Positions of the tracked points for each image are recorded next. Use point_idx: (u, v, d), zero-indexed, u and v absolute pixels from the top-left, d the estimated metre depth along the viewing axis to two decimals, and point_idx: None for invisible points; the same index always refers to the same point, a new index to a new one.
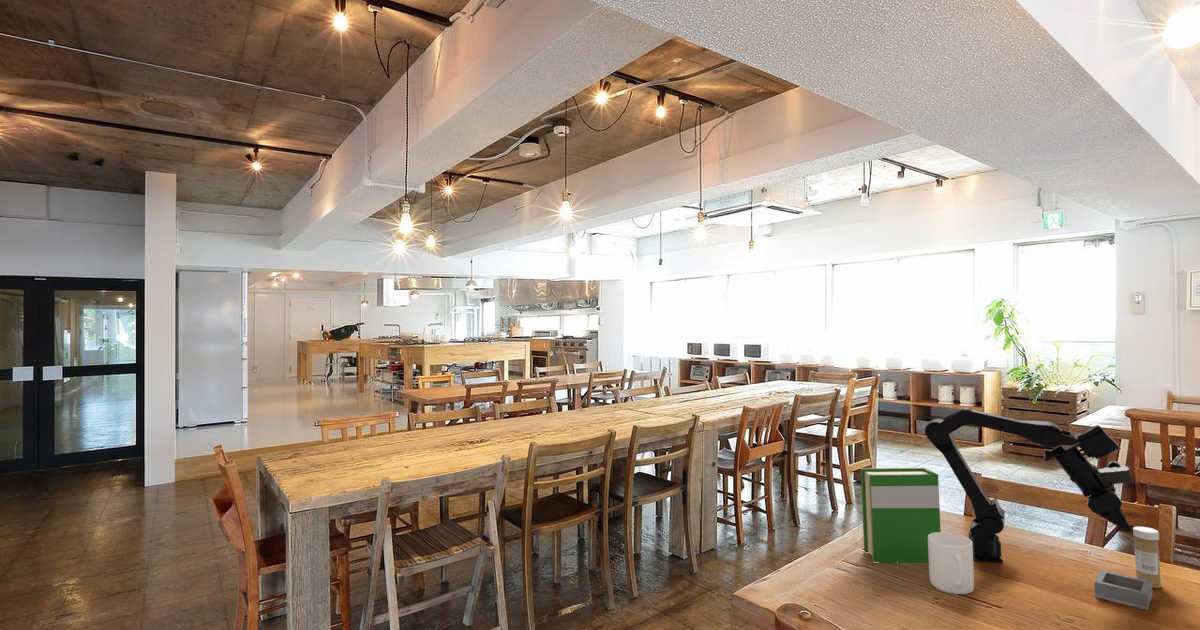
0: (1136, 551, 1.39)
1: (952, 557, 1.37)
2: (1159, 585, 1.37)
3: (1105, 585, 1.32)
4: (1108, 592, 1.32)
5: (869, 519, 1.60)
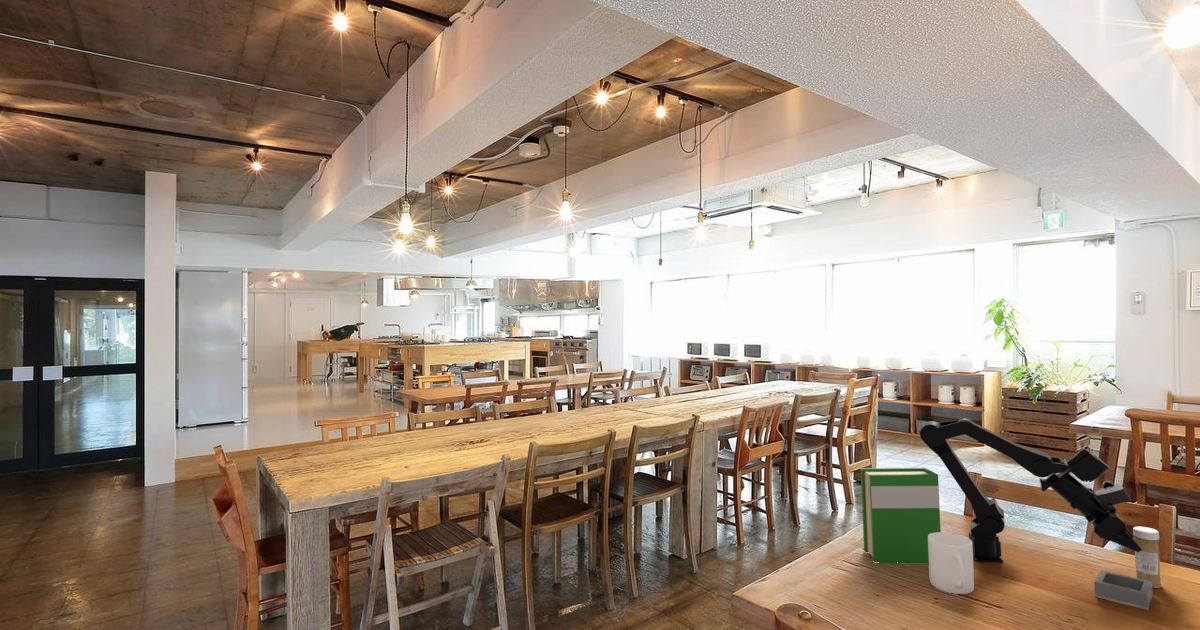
0: None
1: (952, 557, 1.37)
2: (1159, 585, 1.37)
3: (1105, 585, 1.32)
4: (1108, 592, 1.32)
5: (869, 519, 1.60)
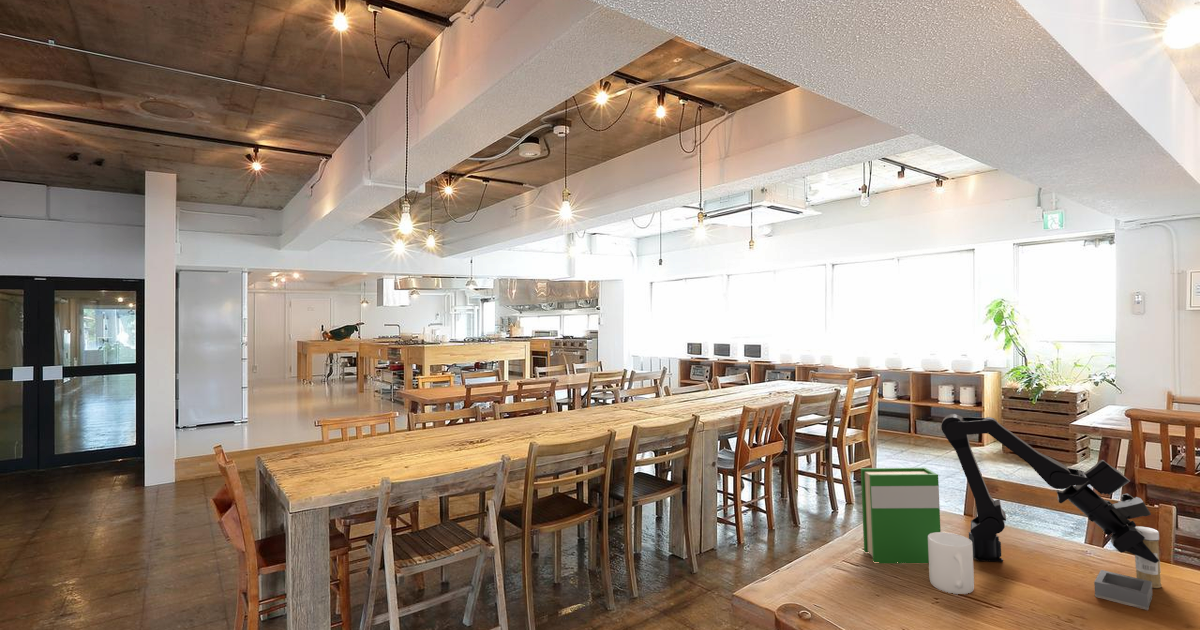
0: None
1: (952, 557, 1.37)
2: (1159, 585, 1.37)
3: (1105, 585, 1.32)
4: (1108, 592, 1.32)
5: (869, 519, 1.60)
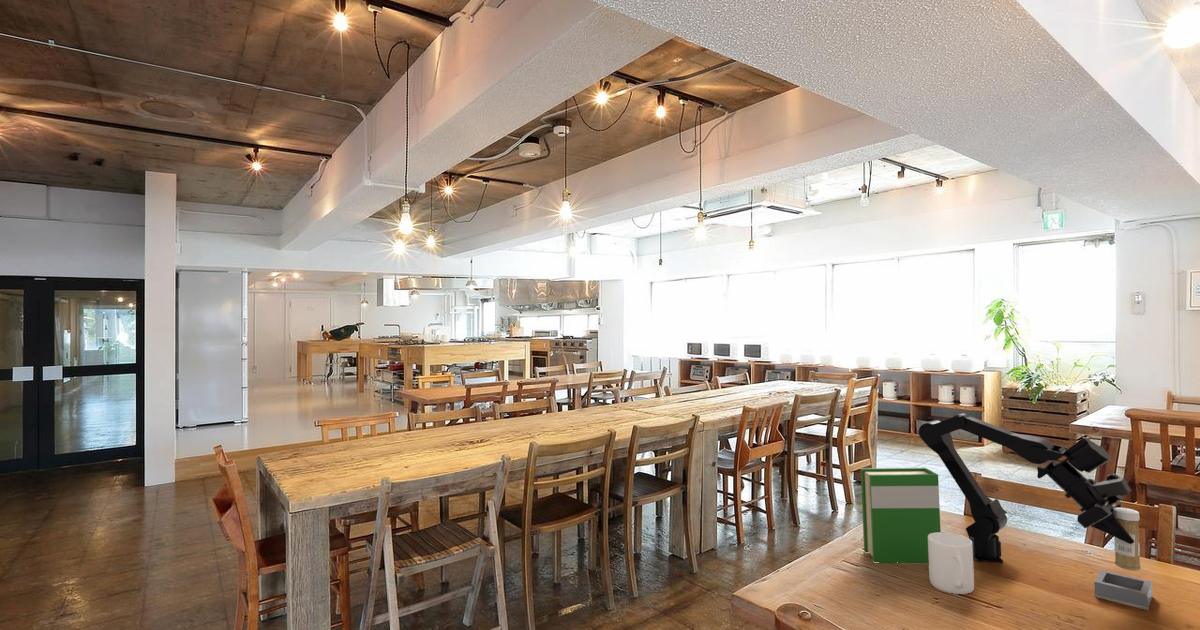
0: None
1: (952, 557, 1.37)
2: (1136, 568, 1.32)
3: (1105, 585, 1.32)
4: (1108, 592, 1.32)
5: (869, 519, 1.60)
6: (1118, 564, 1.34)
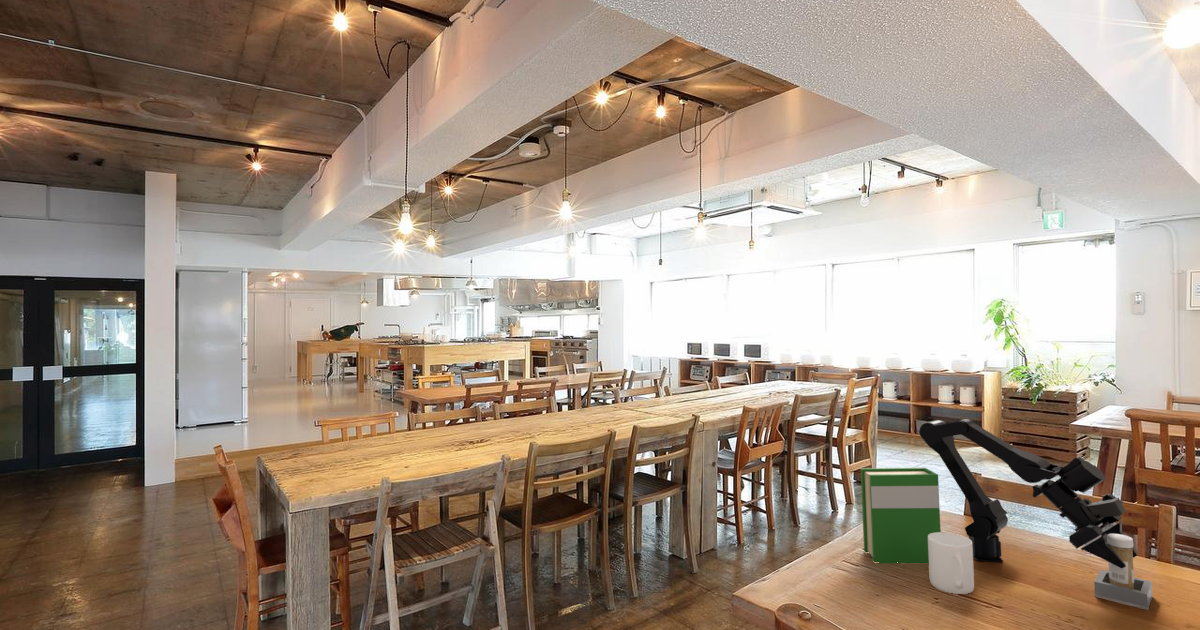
0: None
1: (952, 557, 1.37)
2: None
3: (1105, 585, 1.32)
4: (1108, 592, 1.32)
5: (869, 519, 1.60)
6: None
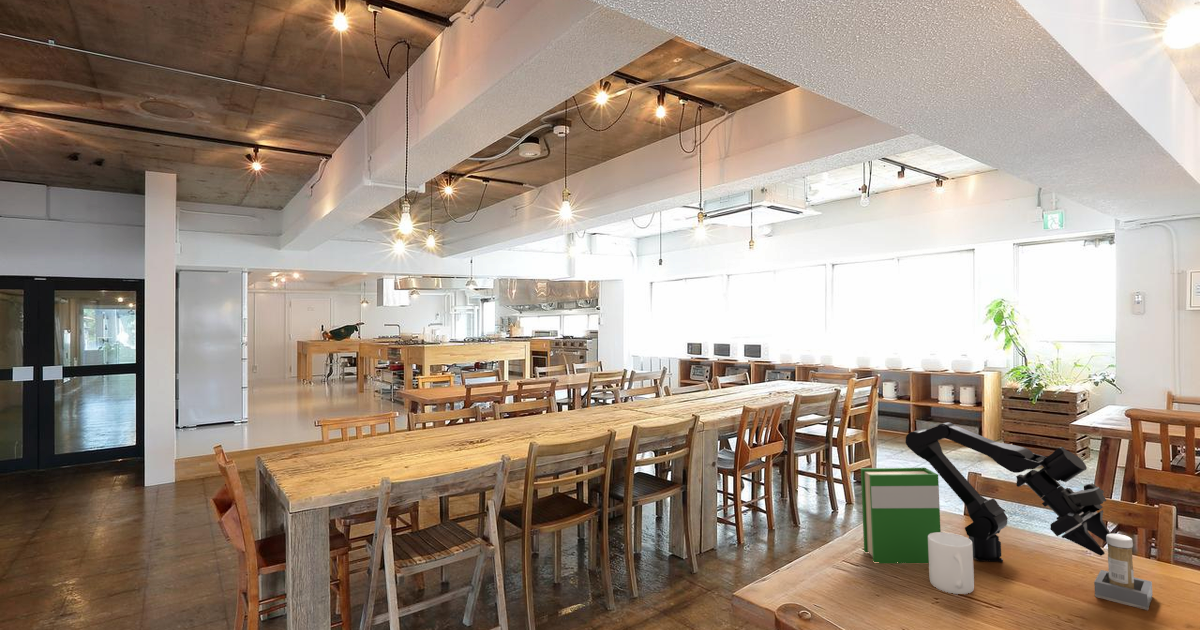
0: (1108, 558, 1.35)
1: (952, 557, 1.37)
2: None
3: (1105, 585, 1.32)
4: (1108, 592, 1.32)
5: (869, 519, 1.60)
6: None
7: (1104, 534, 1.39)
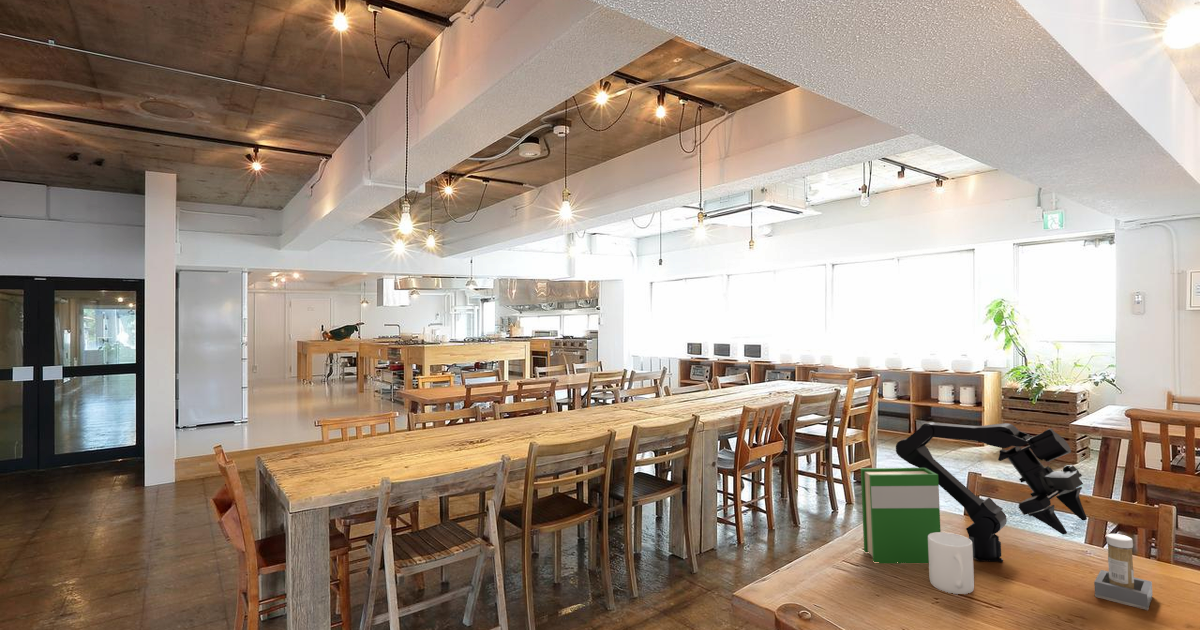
0: (1108, 558, 1.35)
1: (952, 557, 1.37)
2: None
3: (1105, 585, 1.32)
4: (1108, 592, 1.32)
5: (869, 519, 1.60)
6: None
7: (1077, 509, 1.45)
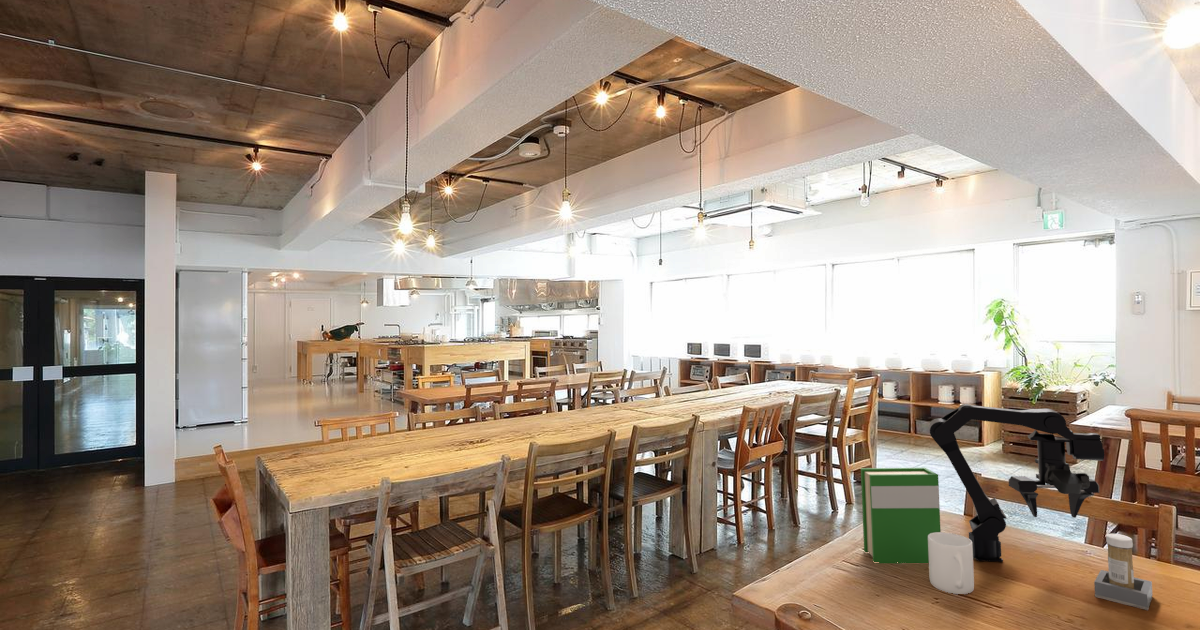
0: None
1: (952, 557, 1.37)
2: None
3: (1105, 585, 1.32)
4: (1108, 592, 1.32)
5: (869, 519, 1.60)
6: None
7: (1073, 507, 1.49)
